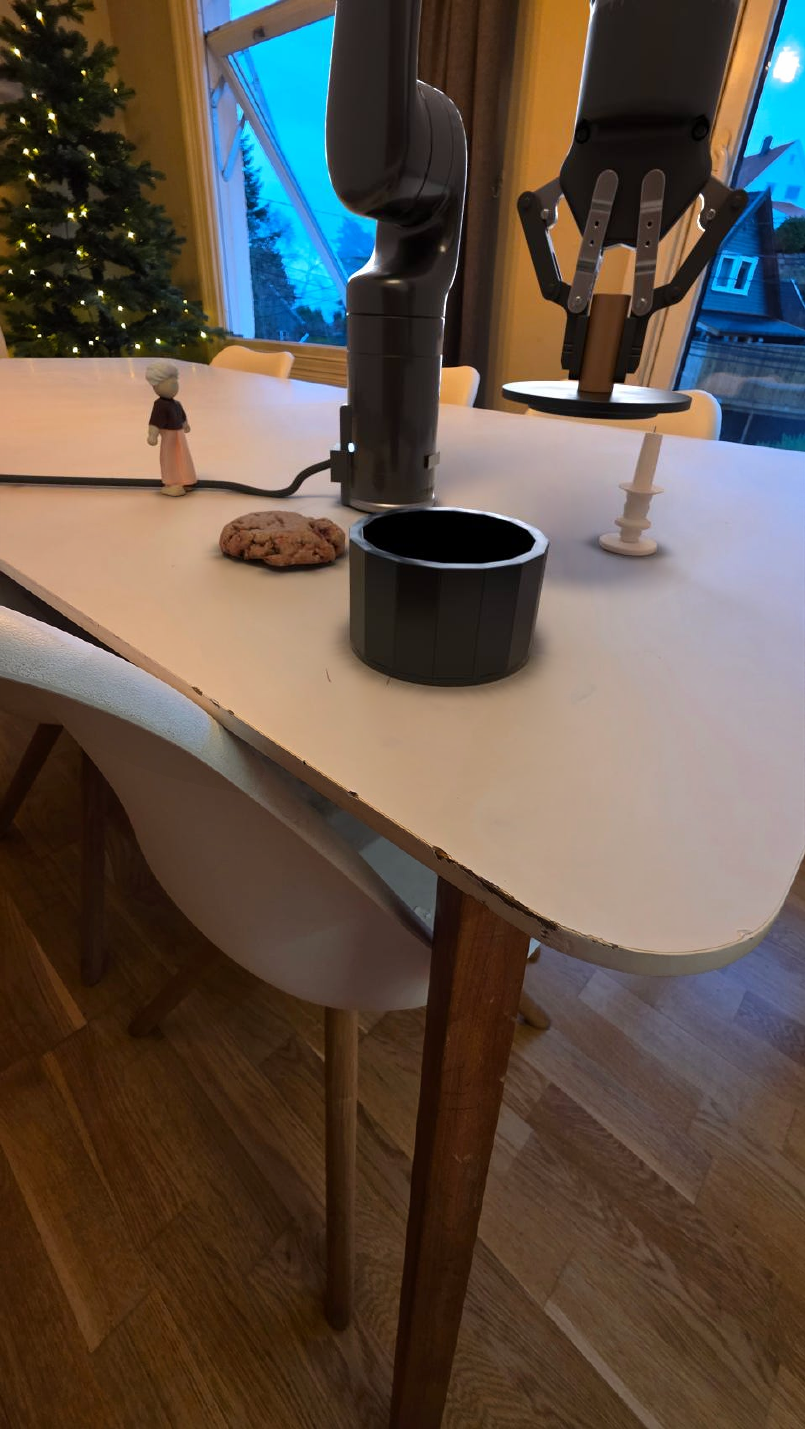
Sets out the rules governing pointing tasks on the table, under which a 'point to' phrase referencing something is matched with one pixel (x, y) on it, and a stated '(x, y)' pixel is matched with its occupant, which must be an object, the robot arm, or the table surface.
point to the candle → (637, 504)
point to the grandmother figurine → (170, 429)
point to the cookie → (282, 538)
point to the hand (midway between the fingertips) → (596, 379)
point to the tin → (444, 593)
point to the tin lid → (599, 376)
